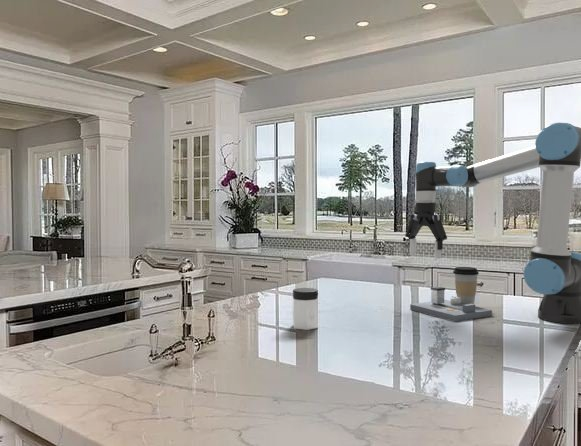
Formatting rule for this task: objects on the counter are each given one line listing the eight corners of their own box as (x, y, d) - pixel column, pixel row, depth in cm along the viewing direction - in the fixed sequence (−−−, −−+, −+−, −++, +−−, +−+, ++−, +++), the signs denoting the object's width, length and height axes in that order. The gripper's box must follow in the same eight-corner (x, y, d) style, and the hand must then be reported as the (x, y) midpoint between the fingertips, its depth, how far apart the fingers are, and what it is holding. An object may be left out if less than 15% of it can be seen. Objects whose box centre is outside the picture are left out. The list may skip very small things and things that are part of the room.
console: (491, 315, 173) (492, 302, 173) (455, 321, 165) (455, 307, 165) (445, 304, 193) (445, 293, 193) (410, 309, 184) (410, 297, 184)
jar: (301, 331, 153) (301, 293, 152) (287, 326, 160) (286, 289, 159) (324, 327, 158) (324, 290, 157) (309, 322, 165) (309, 286, 164)
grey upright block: (445, 303, 183) (445, 287, 183) (437, 304, 182) (437, 288, 181) (438, 301, 186) (438, 285, 186) (430, 302, 185) (430, 286, 184)
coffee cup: (482, 309, 184) (482, 269, 183) (457, 309, 184) (457, 269, 184) (473, 304, 193) (473, 266, 193) (449, 304, 193) (449, 266, 193)
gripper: (457, 202, 181) (456, 259, 182) (410, 202, 203) (410, 253, 204) (442, 201, 177) (441, 260, 178) (396, 202, 199) (396, 254, 200)
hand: (425, 256), depth 191 cm, fingers open, 13 cm apart
